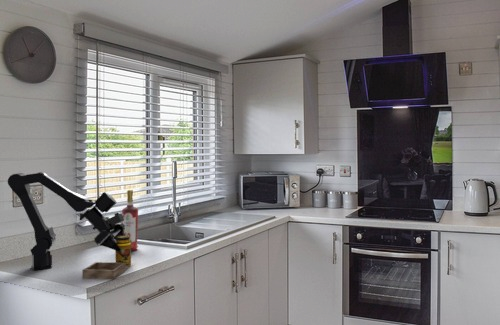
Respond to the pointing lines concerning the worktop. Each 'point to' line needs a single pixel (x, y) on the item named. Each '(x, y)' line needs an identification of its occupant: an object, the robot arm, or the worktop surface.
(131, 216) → the liquor
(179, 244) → the worktop surface
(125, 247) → the condiment
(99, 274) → the walnut tray
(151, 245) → the worktop surface
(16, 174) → the robot arm
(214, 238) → the worktop surface
